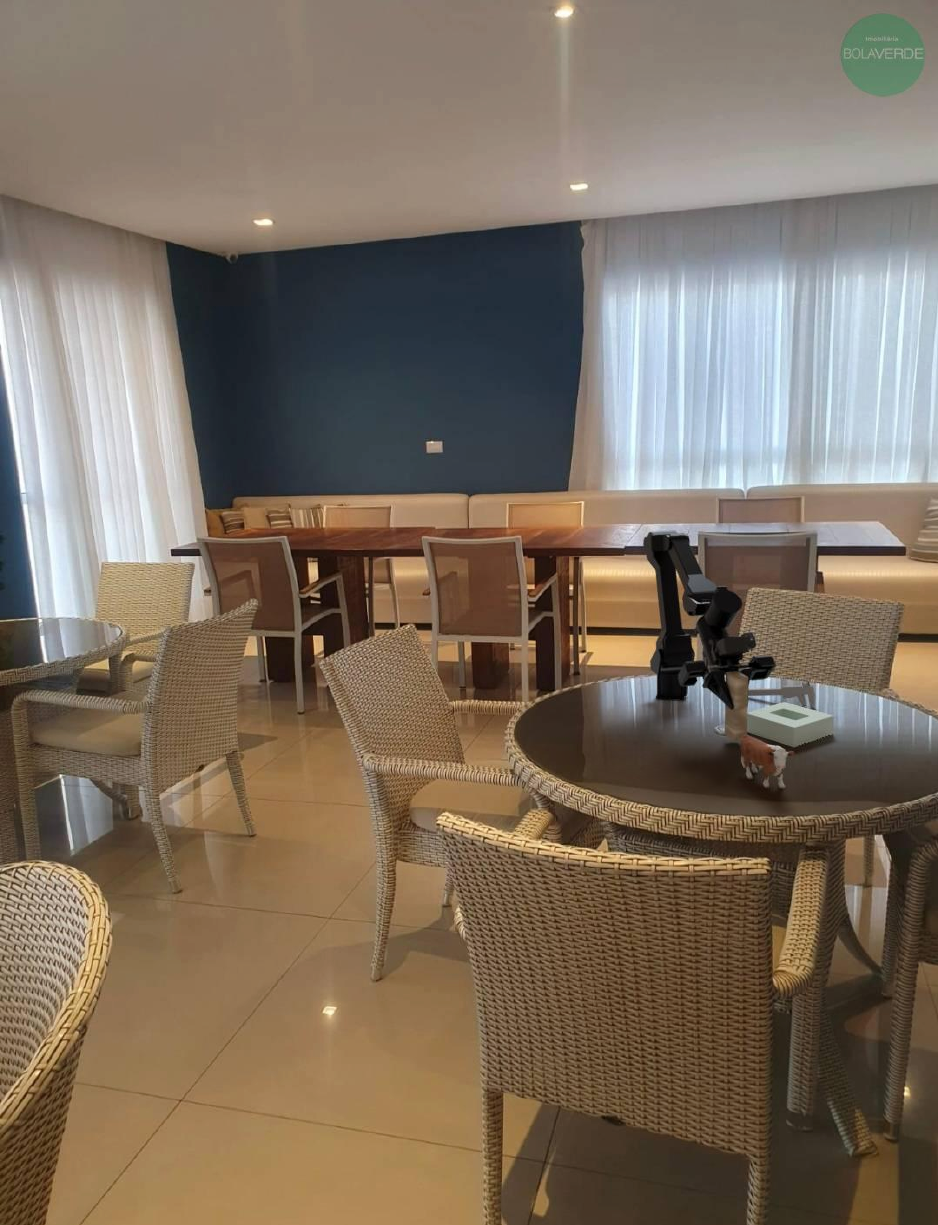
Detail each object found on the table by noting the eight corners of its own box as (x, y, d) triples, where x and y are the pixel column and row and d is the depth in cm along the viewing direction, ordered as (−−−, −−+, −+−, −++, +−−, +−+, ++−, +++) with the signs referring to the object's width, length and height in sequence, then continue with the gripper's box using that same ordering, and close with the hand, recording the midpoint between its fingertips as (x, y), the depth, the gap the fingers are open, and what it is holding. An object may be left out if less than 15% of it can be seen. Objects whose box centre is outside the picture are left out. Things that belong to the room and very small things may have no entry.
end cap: (793, 747, 170) (794, 727, 169) (745, 731, 180) (745, 713, 180) (833, 734, 176) (833, 715, 176) (783, 719, 186) (784, 701, 186)
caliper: (814, 708, 194) (815, 681, 193) (812, 709, 193) (813, 682, 192) (727, 694, 207) (727, 668, 206) (725, 695, 206) (725, 669, 205)
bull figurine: (776, 799, 147) (777, 753, 145) (734, 771, 160) (735, 728, 158) (799, 796, 148) (800, 750, 146) (756, 768, 161) (757, 726, 159)
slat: (734, 742, 171) (735, 678, 168) (724, 734, 175) (725, 672, 173) (746, 741, 171) (748, 677, 168) (736, 733, 175) (737, 671, 173)
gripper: (683, 622, 171) (706, 692, 162) (773, 615, 174) (800, 683, 165) (668, 652, 180) (689, 719, 172) (753, 645, 183) (778, 711, 174)
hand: (739, 708), depth 170 cm, fingers closed on slat, 2 cm apart
